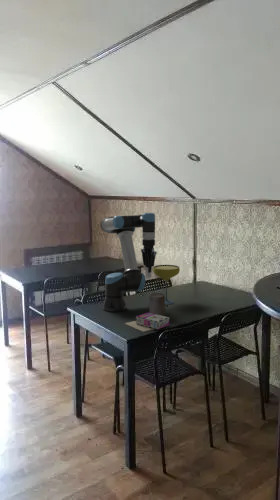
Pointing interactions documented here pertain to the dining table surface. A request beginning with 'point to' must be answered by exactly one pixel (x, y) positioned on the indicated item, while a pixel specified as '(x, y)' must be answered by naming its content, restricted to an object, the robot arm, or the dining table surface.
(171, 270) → the cocktail glass
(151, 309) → the pillar candle
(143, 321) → the candy bar box
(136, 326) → the mat
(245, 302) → the dining table surface
